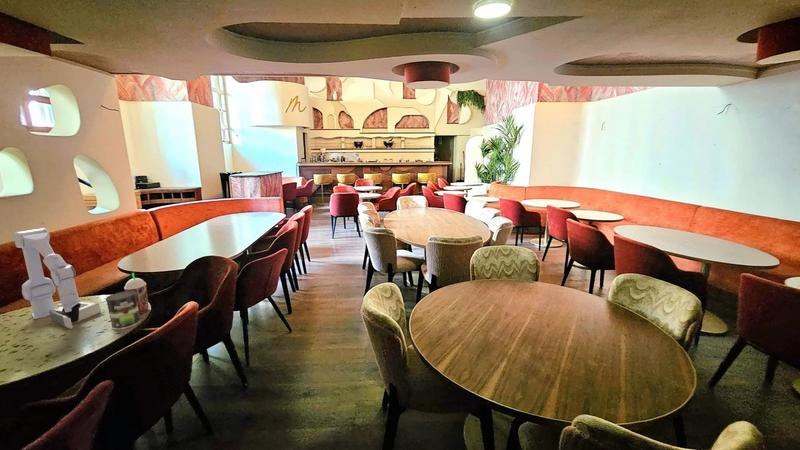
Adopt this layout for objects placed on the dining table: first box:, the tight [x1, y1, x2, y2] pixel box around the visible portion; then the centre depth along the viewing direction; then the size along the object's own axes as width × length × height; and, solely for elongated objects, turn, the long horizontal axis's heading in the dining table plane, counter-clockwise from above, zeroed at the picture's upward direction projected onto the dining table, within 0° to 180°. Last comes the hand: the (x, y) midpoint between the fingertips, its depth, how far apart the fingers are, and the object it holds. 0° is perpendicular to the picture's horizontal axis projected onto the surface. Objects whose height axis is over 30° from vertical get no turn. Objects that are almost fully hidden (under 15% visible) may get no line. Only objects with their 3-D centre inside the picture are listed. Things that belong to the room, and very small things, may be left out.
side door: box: [49, 310, 73, 330], centre depth 150 cm, size 1×19×5 cm, turn 64°
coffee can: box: [105, 290, 142, 331], centre depth 148 cm, size 10×10×14 cm
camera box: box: [52, 300, 102, 323], centre depth 158 cm, size 10×14×5 cm
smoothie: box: [123, 272, 150, 314], centre depth 160 cm, size 8×8×20 cm
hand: (75, 320), depth 149 cm, fingers closed
